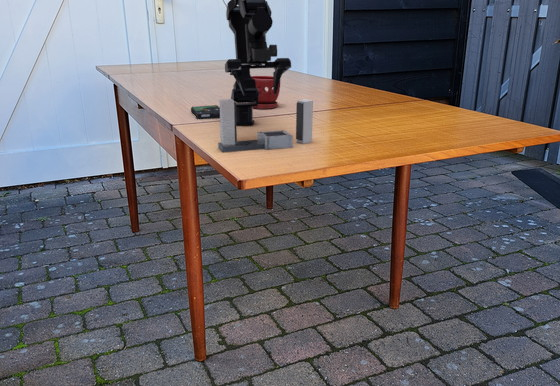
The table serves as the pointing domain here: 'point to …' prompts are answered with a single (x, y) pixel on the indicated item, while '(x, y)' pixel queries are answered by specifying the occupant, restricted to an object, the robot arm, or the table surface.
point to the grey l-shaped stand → (263, 140)
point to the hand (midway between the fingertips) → (260, 95)
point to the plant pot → (266, 92)
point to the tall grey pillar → (304, 121)
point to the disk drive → (206, 112)
